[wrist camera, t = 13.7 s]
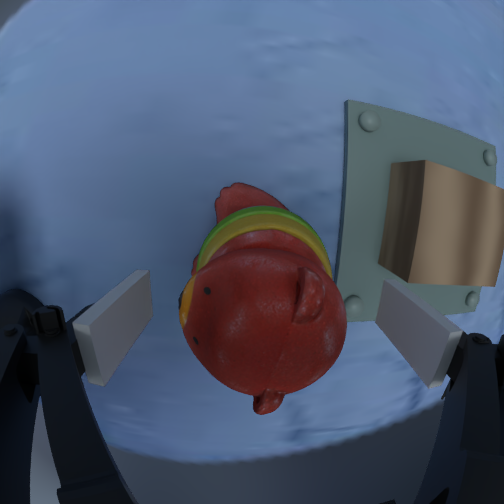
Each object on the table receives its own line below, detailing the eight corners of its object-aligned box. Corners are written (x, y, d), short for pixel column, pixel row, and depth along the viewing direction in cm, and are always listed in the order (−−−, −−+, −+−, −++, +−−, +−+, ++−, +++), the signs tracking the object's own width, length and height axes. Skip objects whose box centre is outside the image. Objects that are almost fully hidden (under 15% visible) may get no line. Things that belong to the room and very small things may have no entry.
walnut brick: (377, 263, 26) (407, 283, 20) (391, 163, 24) (425, 159, 18) (463, 270, 26) (495, 286, 21) (475, 188, 24) (510, 192, 18)
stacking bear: (225, 175, 25) (179, 152, 8) (326, 216, 26) (448, 272, 9) (187, 281, 27) (114, 409, 10) (281, 315, 28) (318, 461, 11)
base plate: (328, 318, 28) (333, 326, 26) (344, 102, 23) (351, 96, 21) (470, 308, 29) (479, 314, 27) (490, 146, 24) (500, 146, 22)
